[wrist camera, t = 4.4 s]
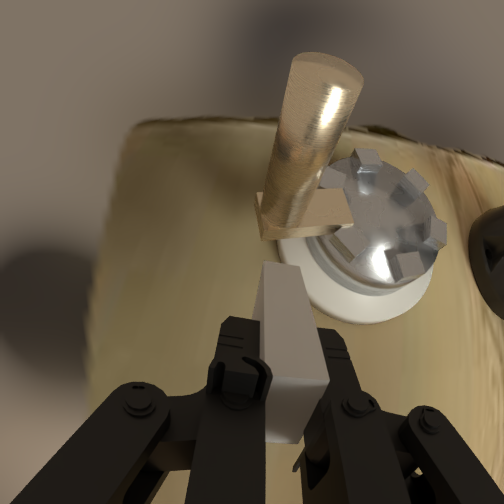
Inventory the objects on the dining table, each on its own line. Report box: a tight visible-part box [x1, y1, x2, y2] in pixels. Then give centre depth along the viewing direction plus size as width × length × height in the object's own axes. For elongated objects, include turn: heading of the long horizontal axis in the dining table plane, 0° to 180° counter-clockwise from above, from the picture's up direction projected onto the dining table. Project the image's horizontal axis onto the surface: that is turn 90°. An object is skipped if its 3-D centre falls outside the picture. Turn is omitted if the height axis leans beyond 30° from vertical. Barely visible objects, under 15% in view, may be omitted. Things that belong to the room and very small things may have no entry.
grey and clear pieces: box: [254, 52, 447, 296], centre depth 18 cm, size 16×12×16 cm
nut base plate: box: [277, 166, 433, 325], centre depth 27 cm, size 16×16×2 cm
